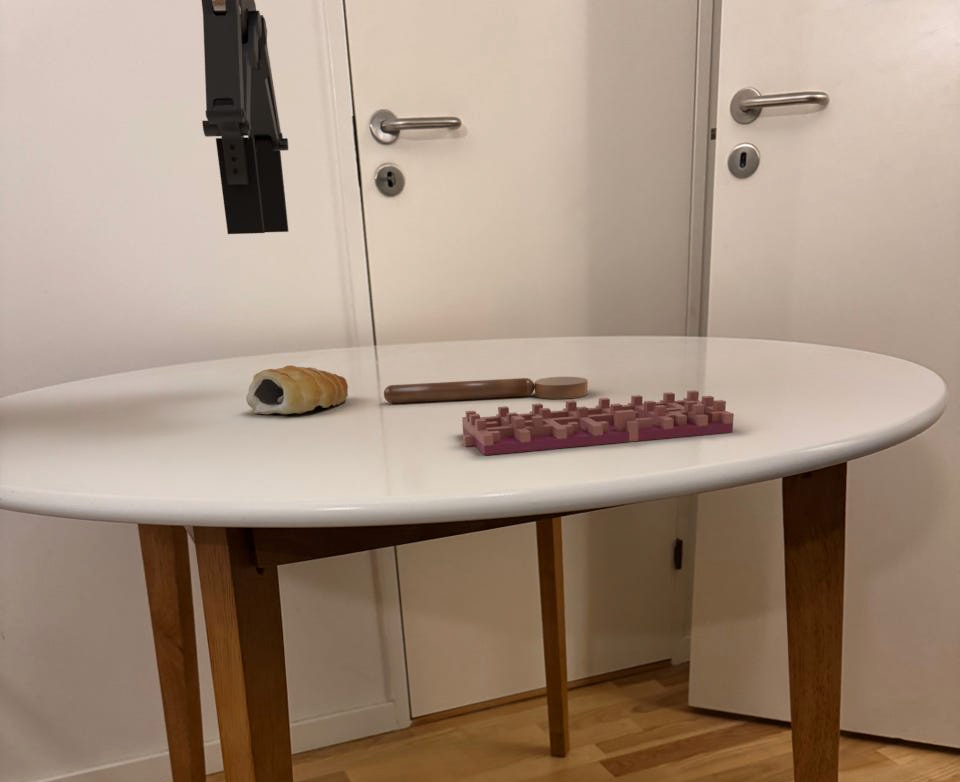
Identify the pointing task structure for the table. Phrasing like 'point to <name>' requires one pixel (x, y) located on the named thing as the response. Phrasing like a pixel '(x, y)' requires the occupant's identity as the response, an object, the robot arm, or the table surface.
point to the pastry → (295, 390)
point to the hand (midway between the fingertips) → (260, 233)
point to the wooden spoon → (488, 389)
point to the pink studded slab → (596, 424)
